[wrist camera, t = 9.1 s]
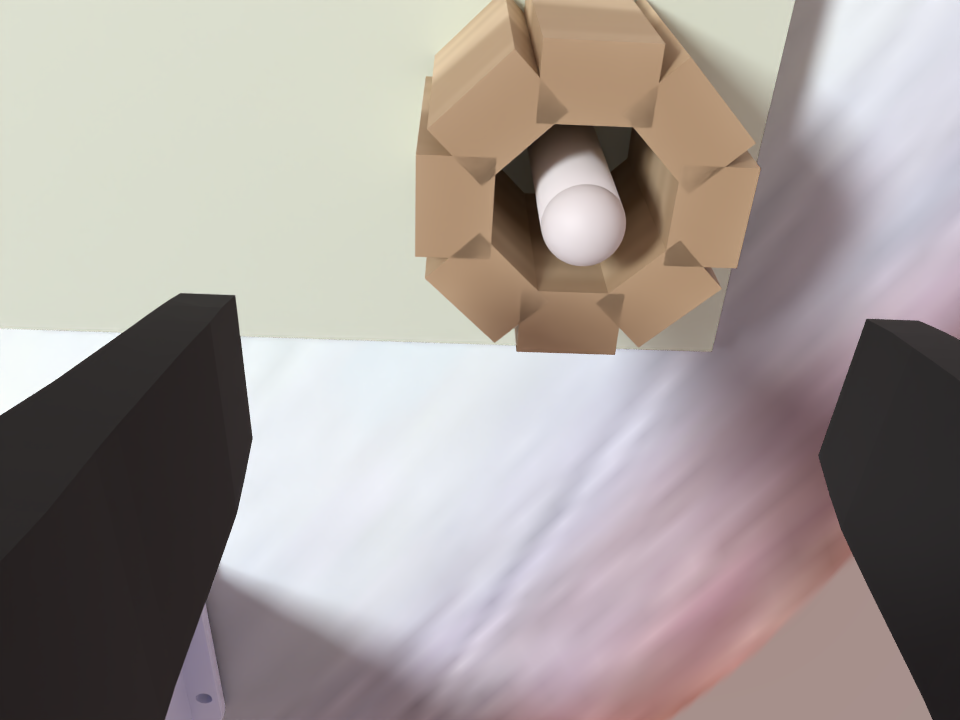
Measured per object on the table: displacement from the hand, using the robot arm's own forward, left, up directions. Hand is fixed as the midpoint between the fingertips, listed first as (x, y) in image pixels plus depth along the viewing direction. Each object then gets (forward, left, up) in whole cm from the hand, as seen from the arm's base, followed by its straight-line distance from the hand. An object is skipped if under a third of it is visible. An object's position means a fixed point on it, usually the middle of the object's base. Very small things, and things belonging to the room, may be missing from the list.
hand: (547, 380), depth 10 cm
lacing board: (0, +4, -9) cm, 10 cm away
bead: (0, -1, -8) cm, 8 cm away
